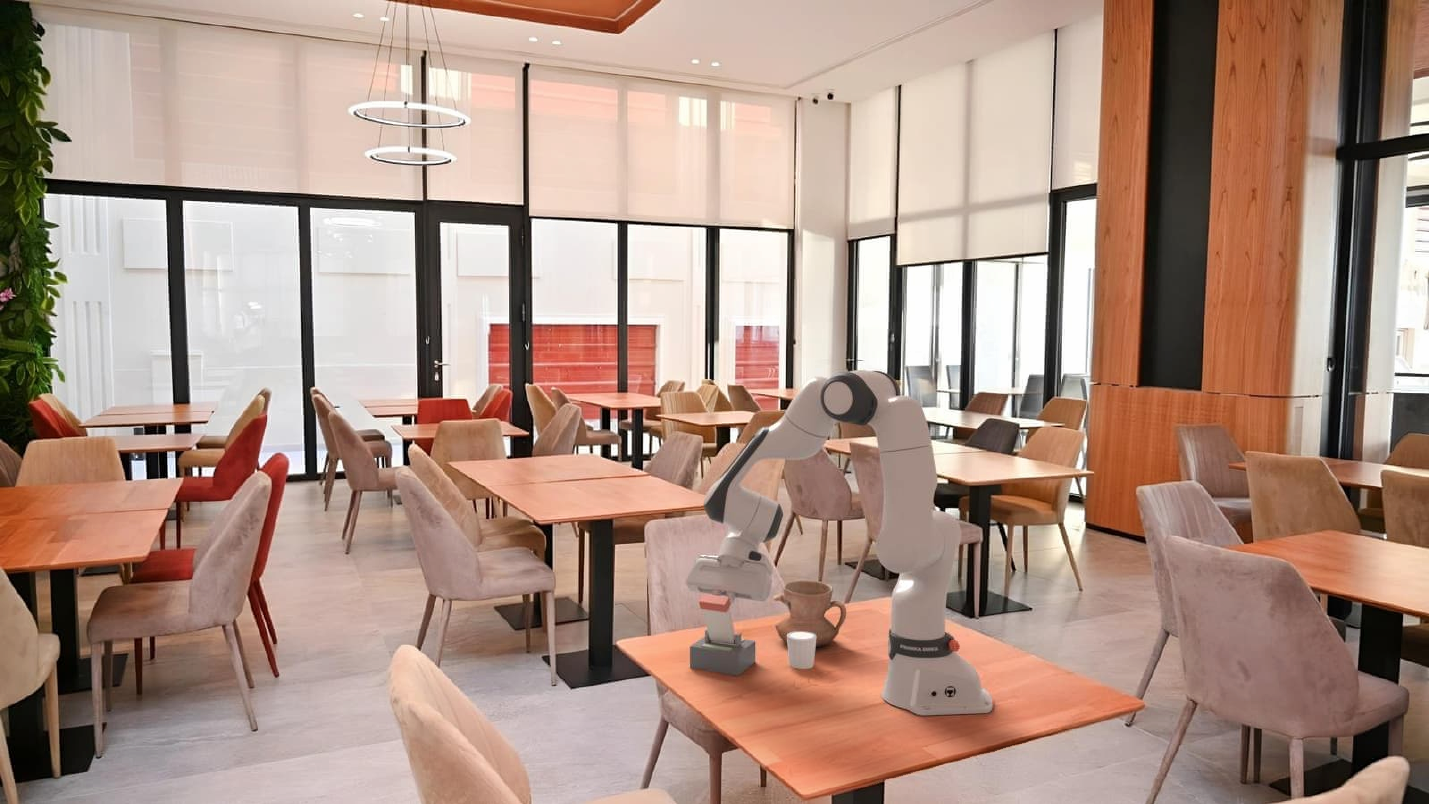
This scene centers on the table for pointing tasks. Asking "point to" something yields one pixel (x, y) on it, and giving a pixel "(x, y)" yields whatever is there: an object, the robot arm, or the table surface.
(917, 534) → the robot arm
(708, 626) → the lever
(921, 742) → the table surface
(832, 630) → the ceramic jug
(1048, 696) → the table surface
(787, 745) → the table surface
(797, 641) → the shot glass
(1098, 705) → the table surface
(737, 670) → the switch box
